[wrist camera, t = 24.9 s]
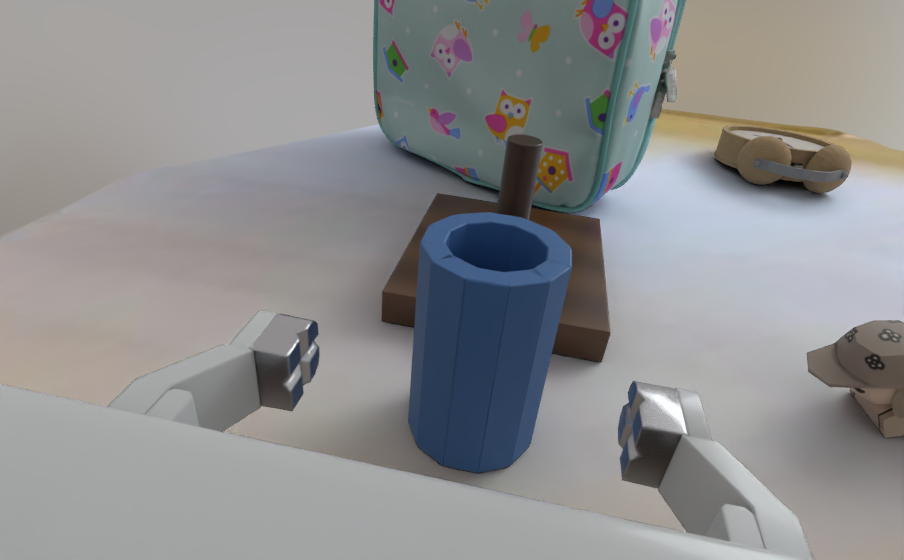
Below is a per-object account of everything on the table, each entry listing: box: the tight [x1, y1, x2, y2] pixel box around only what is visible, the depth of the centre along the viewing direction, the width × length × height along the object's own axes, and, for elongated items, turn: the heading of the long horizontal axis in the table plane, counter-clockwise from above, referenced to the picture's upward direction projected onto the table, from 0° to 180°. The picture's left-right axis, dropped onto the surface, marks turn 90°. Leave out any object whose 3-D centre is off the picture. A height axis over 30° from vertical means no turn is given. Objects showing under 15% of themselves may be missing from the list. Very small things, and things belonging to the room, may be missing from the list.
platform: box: [382, 134, 610, 362], centre depth 33 cm, size 14×12×9 cm
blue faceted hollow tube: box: [408, 212, 572, 473], centre depth 22 cm, size 5×5×9 cm
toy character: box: [807, 320, 904, 438], centre depth 26 cm, size 4×8×6 cm, turn 85°
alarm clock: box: [714, 125, 851, 193], centre depth 57 cm, size 11×5×15 cm
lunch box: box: [373, 0, 686, 212], centre depth 46 cm, size 27×10×21 cm, turn 48°
